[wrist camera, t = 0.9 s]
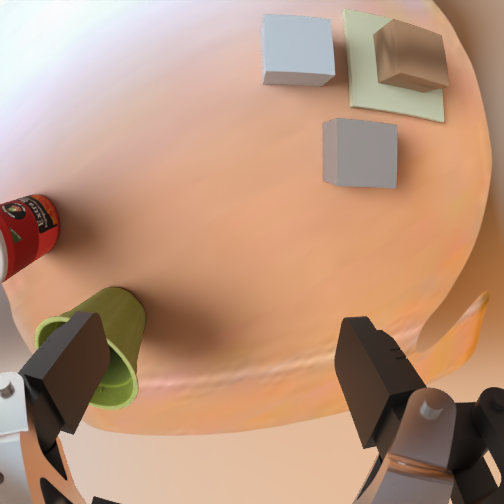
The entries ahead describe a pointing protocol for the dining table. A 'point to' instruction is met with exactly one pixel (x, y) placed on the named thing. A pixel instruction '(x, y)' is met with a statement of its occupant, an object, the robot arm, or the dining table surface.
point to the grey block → (359, 153)
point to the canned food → (26, 232)
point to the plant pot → (110, 343)
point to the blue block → (296, 50)
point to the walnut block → (410, 57)
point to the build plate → (365, 74)
